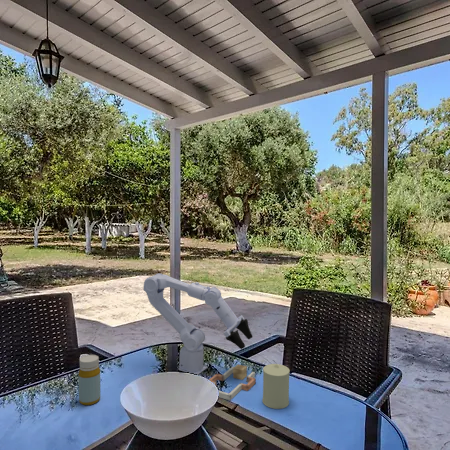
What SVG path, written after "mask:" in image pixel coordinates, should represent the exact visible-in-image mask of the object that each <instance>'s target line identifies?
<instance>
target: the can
mask: <svg viewBox="0 0 450 450" xmlns="http://www.w3.org/2000/svg"><path fill="white" fill-rule="evenodd" d="M262 371H263V372H262V374H263V375H262V377H263V378H262V381H263V382H262V403H263V405H264V406H266V407H268V408H270V409H274V410H275V409H276V410H280V409H285V408H287V407H288V406H289V405H290V399H289V398H290V397H289V396H290V371H291V370H290V368H289V367H287V366H286V365H283V364H280V363H279V364H278V363H270V364H266V365H265V366H264V367H263V368H262Z"/></svg>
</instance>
